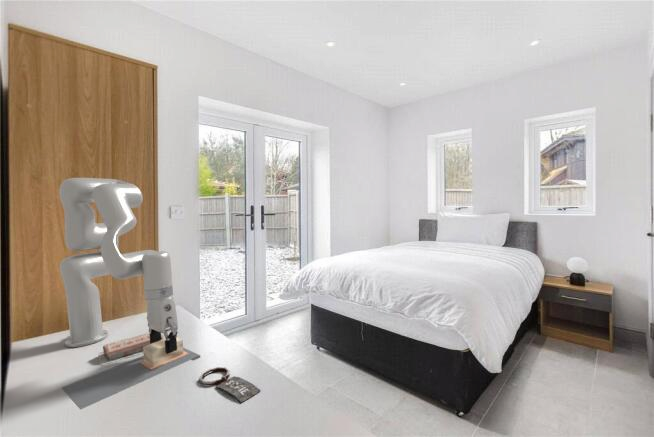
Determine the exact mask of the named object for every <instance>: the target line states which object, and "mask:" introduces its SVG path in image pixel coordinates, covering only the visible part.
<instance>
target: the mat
mask: <svg viewBox="0 0 654 437" xmlns="http://www.w3.org/2000/svg"><path fill="white" fill-rule="evenodd" d="M199 358H201V354H199V353H196V352H194V351H192V350H190V349H187V348H185V347H183V354H182V355H180V356H178V357H175V358H173V359H170V360H168V361H166V362H163V363H161V364H159V365H156V366H154V367H153V366H151V365H149V364H148V363H146V362H145V361H144V354H143V355H141V356H138V357H135V358H134V359H130V360H128V361H126V362H123V363H122V364H118V365H116V366H113V367H111V368H108V369H105V370H103V371H101V372H97V373H95V374H92V375H90V376H88V377H85V378H83V379H80V380H78V381H75V382H72V383H69V384H67V385H65V386H62V387H61V389H62V390H63V391H64V393H65V394H66V395H67V396H68V397H69V398H70V399H71V400H72V401H73V403H74V404H75V405H76V406H77V407H78V408H79V409H80V410H83V409H85V408H87V407H89V406H92V405H94V404H97V403H98V402H100V401H103V400H105V399H107V398H109V397H111V396H113V395H116V394H118V393H119V392H122V391H125V390H127V389H129V388H132V387H133V386H136V385H138V384H140V383H142V382H144V381H146V380H149V379H151V378H153V377H156V376H158V375H159V374H163V373H164V372H167V371H169V370H171V369H173V368H175V367H178V366H180V365H182V364H184V363H186V362H188V361H190V360H191V361H195V360H197V359H199Z"/></svg>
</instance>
